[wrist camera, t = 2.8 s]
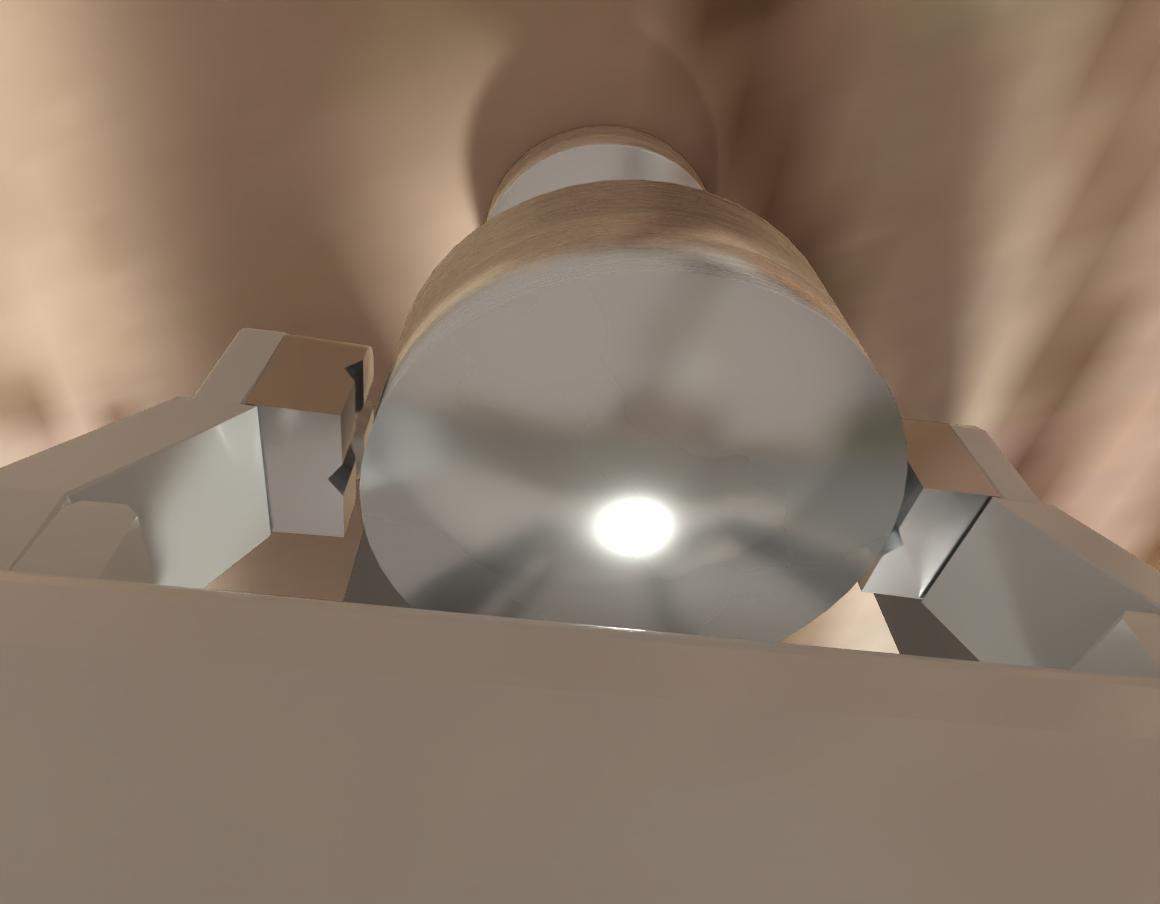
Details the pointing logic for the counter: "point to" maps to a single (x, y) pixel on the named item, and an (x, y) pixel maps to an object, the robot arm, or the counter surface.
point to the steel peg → (629, 412)
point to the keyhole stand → (903, 615)
